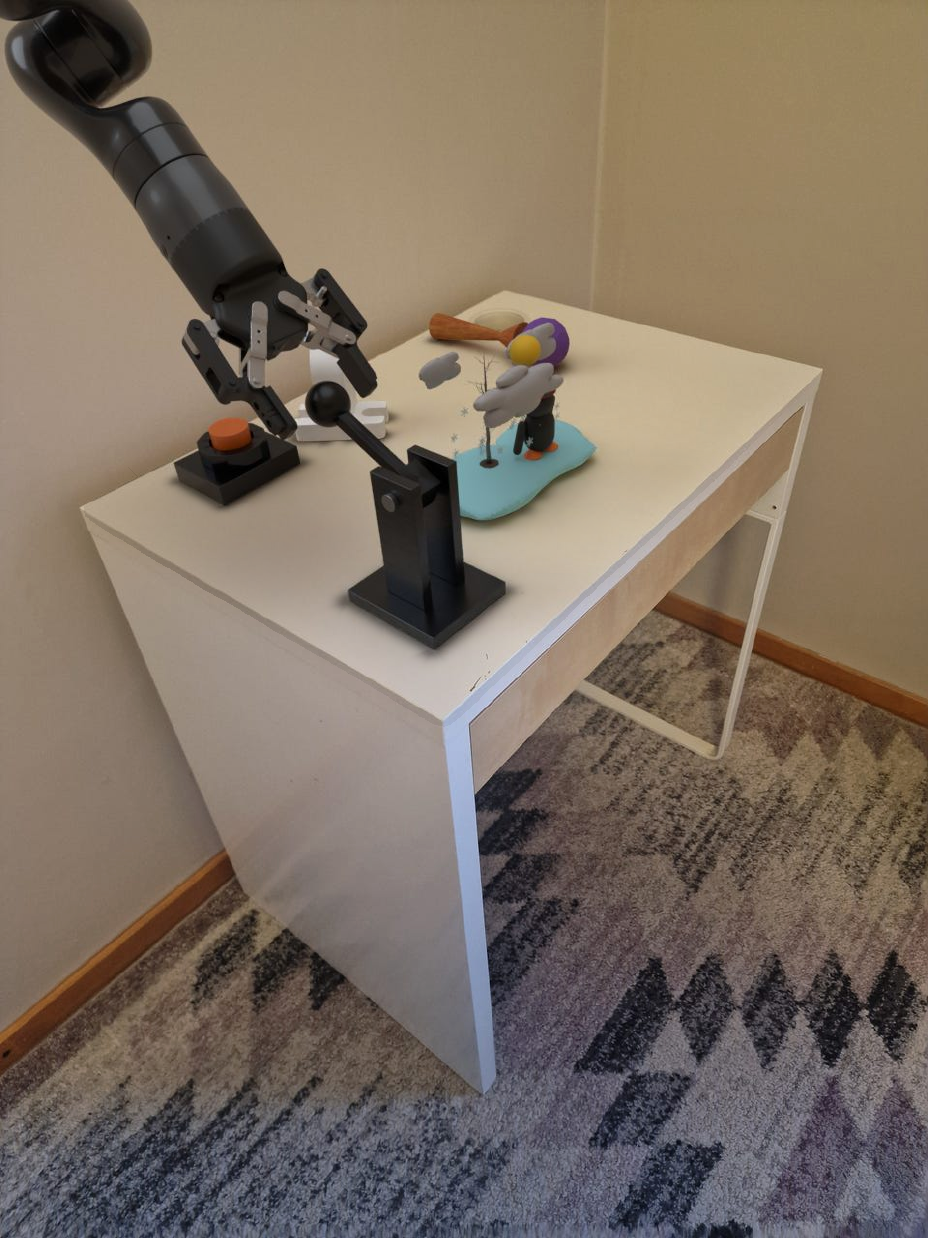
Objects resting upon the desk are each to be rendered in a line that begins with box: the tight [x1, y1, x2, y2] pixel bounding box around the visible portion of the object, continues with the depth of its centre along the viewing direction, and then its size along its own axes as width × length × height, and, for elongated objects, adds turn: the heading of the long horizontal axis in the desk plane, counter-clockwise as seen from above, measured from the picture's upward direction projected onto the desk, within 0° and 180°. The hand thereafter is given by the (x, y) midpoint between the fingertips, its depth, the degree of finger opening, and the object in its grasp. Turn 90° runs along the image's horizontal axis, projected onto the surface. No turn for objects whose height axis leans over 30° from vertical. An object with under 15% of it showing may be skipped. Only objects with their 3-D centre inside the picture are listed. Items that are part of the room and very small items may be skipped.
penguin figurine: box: [418, 323, 597, 521], centre depth 81 cm, size 20×11×15 cm, turn 135°
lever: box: [304, 381, 441, 508], centre depth 67 cm, size 13×4×4 cm, turn 49°
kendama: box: [428, 312, 570, 368], centre depth 107 cm, size 6×6×20 cm
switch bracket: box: [347, 444, 507, 650], centre depth 69 cm, size 10×9×13 cm
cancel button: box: [208, 417, 252, 450], centre depth 87 cm, size 4×4×2 cm
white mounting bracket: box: [294, 349, 390, 442], centre depth 93 cm, size 5×10×10 cm, turn 88°
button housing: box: [172, 422, 301, 507], centre depth 89 cm, size 10×8×4 cm
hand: (332, 412), depth 68 cm, fingers open, 8 cm apart
